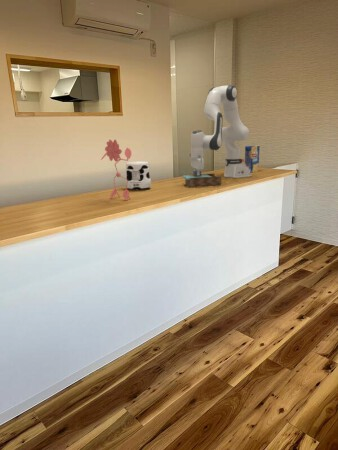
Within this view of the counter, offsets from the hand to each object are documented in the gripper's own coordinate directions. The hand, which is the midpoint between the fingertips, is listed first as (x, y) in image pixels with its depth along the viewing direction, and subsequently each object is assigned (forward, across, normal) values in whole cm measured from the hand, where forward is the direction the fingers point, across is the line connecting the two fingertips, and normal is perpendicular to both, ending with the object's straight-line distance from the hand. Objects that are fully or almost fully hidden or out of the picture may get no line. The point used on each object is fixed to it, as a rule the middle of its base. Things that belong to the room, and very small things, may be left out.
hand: (197, 174), depth 232 cm
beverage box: (+7, +46, -64) cm, 79 cm away
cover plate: (+2, 0, 0) cm, 2 cm away
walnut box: (+7, 0, -4) cm, 8 cm away
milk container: (+8, 0, +42) cm, 42 cm away
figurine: (+8, -30, +59) cm, 67 cm away
